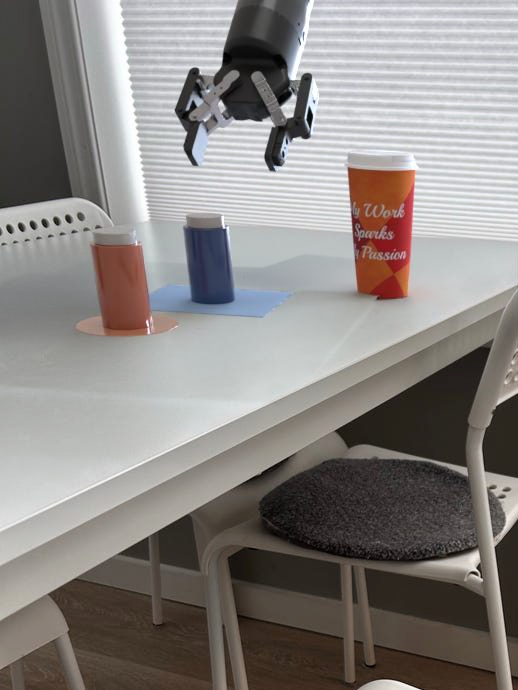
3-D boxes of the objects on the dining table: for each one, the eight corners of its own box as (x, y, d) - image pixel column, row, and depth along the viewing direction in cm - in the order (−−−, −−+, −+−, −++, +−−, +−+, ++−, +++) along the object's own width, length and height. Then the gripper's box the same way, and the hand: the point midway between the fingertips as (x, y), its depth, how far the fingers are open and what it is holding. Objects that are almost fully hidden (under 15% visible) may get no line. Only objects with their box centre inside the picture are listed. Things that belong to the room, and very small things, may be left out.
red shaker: (94, 328, 85) (78, 232, 81) (114, 317, 89) (100, 225, 85) (141, 331, 85) (128, 235, 81) (159, 320, 89) (147, 228, 85)
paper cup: (336, 296, 103) (331, 152, 96) (364, 284, 109) (361, 147, 102) (403, 303, 101) (403, 157, 94) (428, 290, 107) (430, 152, 100)
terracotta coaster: (58, 337, 84) (57, 332, 84) (101, 315, 91) (100, 310, 91) (157, 343, 83) (157, 338, 83) (192, 320, 91) (192, 316, 91)
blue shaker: (184, 302, 96) (174, 216, 91) (199, 294, 99) (190, 211, 95) (227, 305, 95) (219, 219, 91) (240, 296, 99) (233, 213, 95)
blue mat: (123, 312, 93) (122, 308, 92) (167, 288, 103) (167, 284, 103) (263, 321, 92) (263, 316, 92) (294, 296, 102) (294, 292, 102)
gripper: (191, 0, 98) (150, 131, 94) (321, 5, 96) (285, 139, 92) (219, 61, 105) (182, 185, 101) (341, 66, 103) (308, 193, 99)
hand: (231, 163), depth 97 cm, fingers open, 8 cm apart
